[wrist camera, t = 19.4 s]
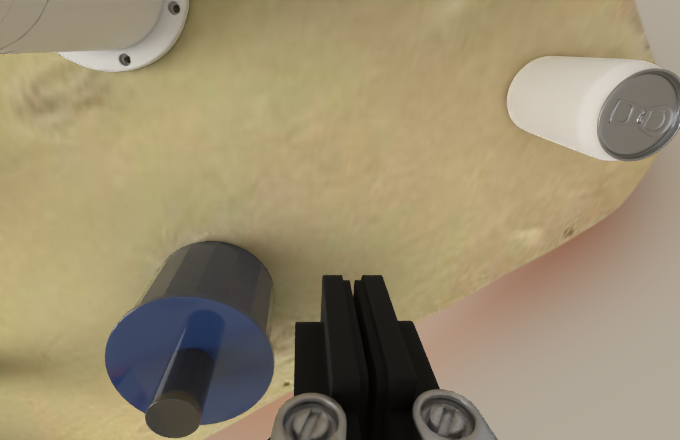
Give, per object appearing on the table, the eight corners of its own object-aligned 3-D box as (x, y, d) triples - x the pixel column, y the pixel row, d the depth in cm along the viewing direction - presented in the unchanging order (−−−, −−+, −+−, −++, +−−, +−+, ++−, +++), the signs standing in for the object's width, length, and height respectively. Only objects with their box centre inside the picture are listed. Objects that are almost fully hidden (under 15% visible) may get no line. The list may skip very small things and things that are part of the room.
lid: (100, 397, 34) (60, 467, 29) (125, 268, 30) (83, 321, 24) (251, 425, 37) (242, 494, 31) (294, 310, 33) (293, 367, 27)
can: (558, 137, 38) (662, 176, 27) (493, 124, 37) (574, 158, 26) (588, 64, 36) (715, 73, 25) (520, 47, 35) (620, 49, 24)
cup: (146, 325, 42) (105, 398, 34) (168, 226, 38) (128, 280, 30) (256, 349, 45) (245, 424, 36) (288, 259, 41) (284, 318, 32)
